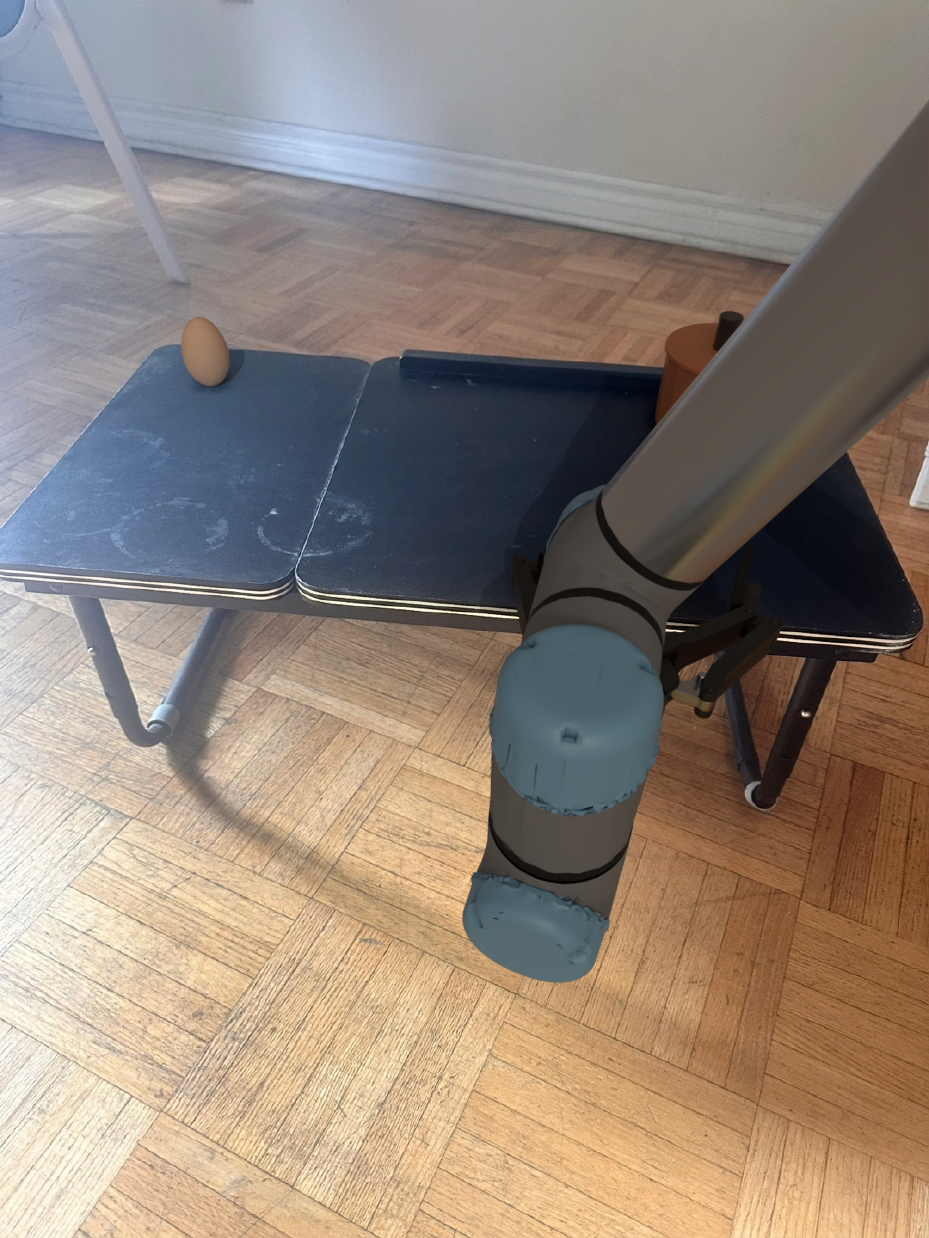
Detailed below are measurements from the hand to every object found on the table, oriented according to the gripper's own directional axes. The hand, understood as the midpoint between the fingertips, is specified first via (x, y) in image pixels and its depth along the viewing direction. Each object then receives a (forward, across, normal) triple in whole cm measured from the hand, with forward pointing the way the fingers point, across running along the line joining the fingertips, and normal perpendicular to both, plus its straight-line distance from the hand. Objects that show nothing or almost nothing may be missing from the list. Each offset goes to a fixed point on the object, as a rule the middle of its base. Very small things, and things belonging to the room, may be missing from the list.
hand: (660, 540), depth 67 cm
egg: (+19, -57, -7) cm, 60 cm away
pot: (+31, 0, -6) cm, 32 cm away
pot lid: (+31, 0, +2) cm, 31 cm away
